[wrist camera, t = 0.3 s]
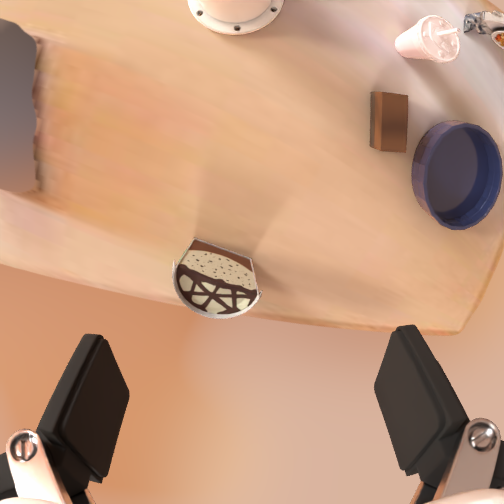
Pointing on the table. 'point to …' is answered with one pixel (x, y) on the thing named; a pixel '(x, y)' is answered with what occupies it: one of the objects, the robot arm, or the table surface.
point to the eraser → (388, 121)
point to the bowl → (457, 174)
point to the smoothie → (430, 40)
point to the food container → (215, 281)
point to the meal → (487, 25)
